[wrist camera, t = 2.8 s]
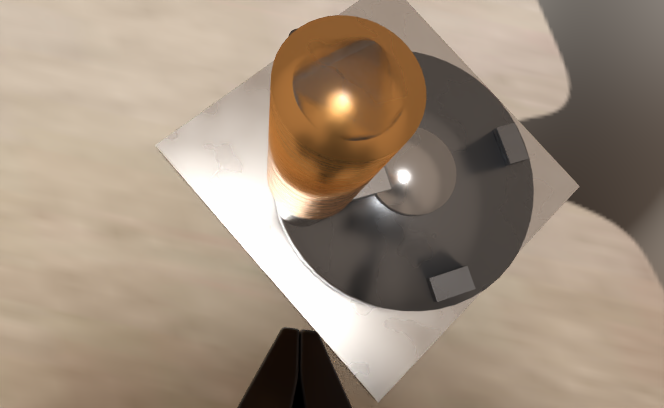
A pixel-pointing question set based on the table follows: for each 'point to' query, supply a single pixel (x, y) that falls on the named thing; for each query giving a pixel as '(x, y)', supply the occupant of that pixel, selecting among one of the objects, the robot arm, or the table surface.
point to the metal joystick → (393, 168)
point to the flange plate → (267, 233)
